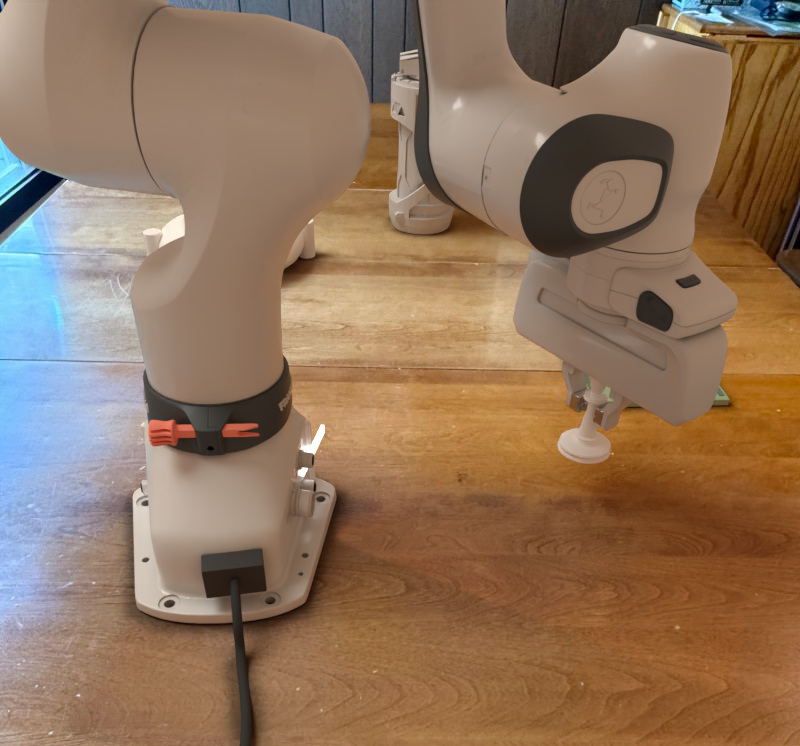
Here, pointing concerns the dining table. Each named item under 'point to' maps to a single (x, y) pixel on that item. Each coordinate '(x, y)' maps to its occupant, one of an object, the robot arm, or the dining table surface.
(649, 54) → the robot arm
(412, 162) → the lantern
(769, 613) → the dining table surface
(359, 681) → the dining table surface
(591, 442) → the chess piece
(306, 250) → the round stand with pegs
